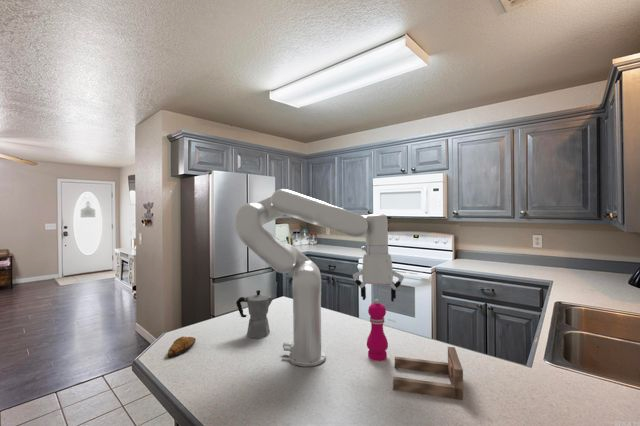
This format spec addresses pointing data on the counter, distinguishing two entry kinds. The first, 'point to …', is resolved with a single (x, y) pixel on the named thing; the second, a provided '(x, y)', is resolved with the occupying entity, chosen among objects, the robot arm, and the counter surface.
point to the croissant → (180, 345)
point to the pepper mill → (377, 332)
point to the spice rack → (427, 387)
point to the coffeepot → (256, 314)
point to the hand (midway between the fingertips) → (378, 299)
